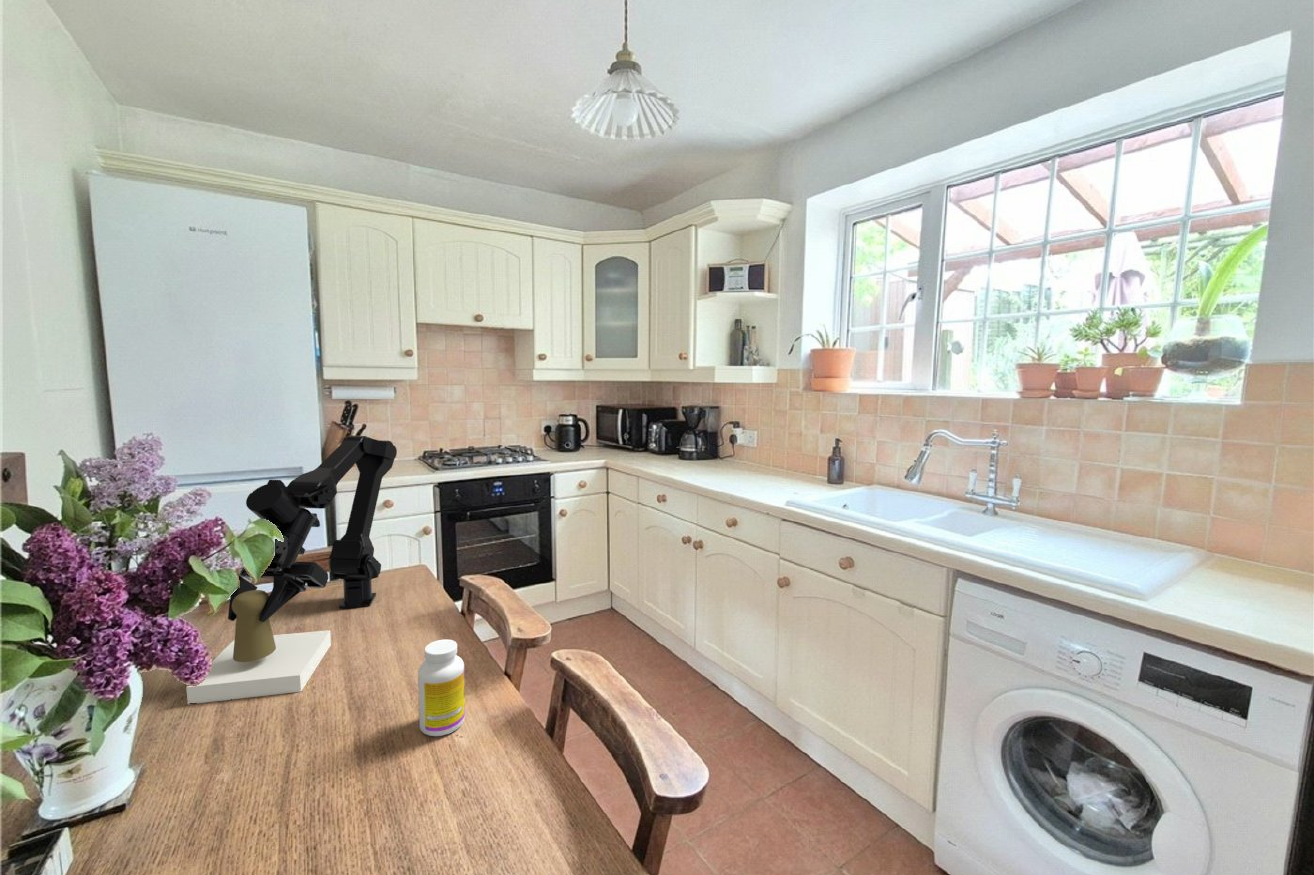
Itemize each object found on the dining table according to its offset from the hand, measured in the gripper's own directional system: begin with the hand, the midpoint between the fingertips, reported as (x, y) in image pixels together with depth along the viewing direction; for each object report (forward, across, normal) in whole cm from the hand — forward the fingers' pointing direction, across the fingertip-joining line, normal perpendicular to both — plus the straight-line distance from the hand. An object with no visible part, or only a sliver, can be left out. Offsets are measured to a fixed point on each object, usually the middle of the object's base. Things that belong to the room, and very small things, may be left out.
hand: (245, 620), depth 91 cm
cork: (+4, 0, +6) cm, 7 cm away
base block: (+6, 0, +10) cm, 12 cm away
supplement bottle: (+14, +37, +2) cm, 40 cm away
